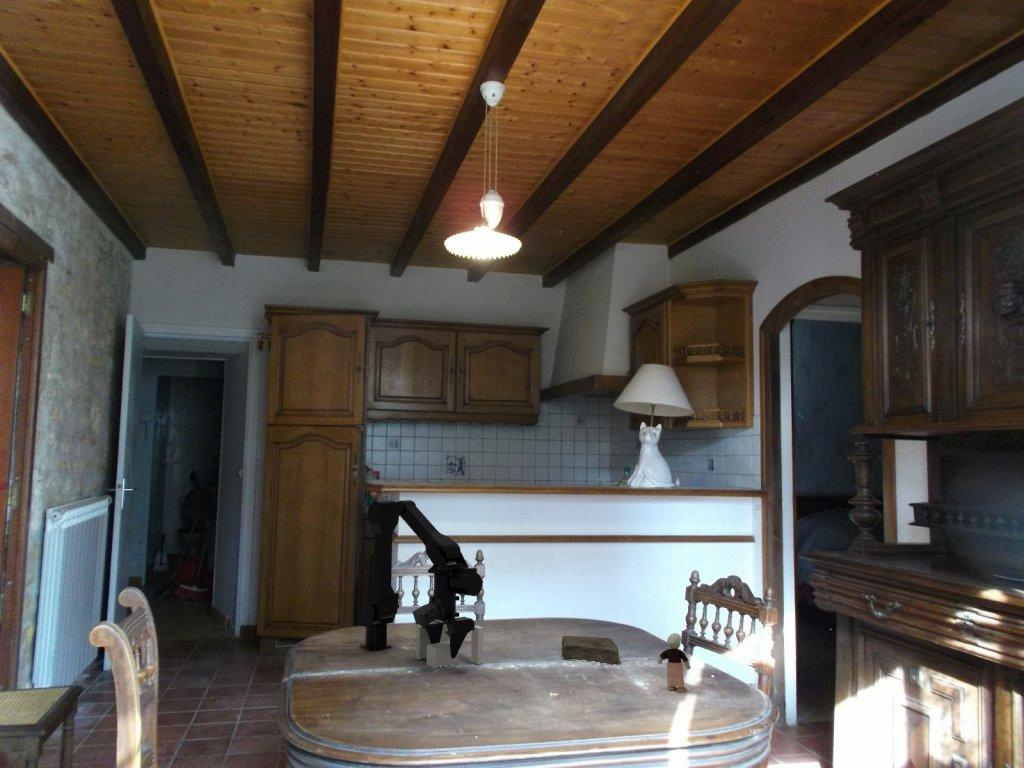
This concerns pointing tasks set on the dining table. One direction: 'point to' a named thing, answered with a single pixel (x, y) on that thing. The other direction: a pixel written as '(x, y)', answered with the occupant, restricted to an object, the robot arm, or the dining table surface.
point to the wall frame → (476, 645)
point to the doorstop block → (440, 655)
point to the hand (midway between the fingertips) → (444, 655)
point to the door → (426, 641)
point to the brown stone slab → (590, 649)
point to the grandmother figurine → (674, 663)
